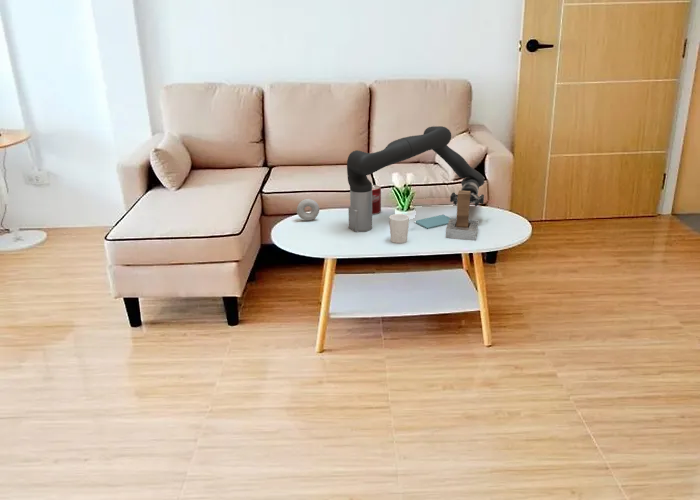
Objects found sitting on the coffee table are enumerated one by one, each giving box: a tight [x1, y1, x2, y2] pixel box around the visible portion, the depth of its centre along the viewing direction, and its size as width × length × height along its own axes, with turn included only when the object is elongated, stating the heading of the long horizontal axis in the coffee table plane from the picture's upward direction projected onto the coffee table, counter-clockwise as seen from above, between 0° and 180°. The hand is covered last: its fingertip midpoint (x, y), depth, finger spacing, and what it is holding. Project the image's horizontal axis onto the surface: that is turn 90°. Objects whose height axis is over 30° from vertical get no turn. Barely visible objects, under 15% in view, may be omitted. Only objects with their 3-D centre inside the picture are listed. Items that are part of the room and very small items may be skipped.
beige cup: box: [389, 213, 410, 244], centre depth 253 cm, size 8×8×10 cm
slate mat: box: [415, 214, 453, 230], centre depth 273 cm, size 16×10×1 cm, turn 119°
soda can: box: [372, 184, 382, 215], centre depth 284 cm, size 7×7×12 cm
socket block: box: [445, 218, 479, 241], centre depth 259 cm, size 12×12×4 cm
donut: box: [296, 198, 320, 221], centre depth 276 cm, size 10×4×10 cm, turn 98°
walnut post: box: [456, 190, 471, 228], centre depth 256 cm, size 5×5×18 cm
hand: (465, 203), depth 265 cm, fingers open, 8 cm apart
